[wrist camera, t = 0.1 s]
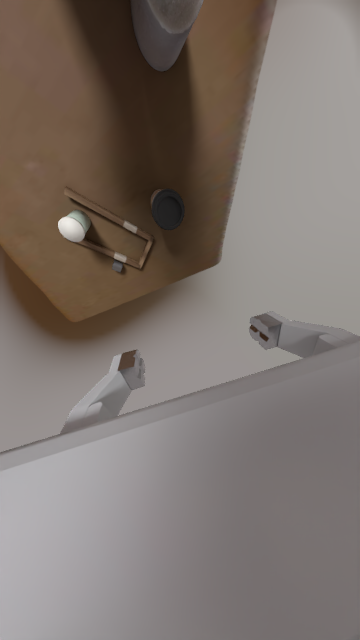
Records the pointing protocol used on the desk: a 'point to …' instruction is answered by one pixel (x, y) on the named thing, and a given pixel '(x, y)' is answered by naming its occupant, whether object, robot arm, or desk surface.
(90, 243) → the beam slot
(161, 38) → the pillar candle
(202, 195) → the desk surface
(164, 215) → the coffee cup
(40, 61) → the desk surface
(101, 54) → the desk surface
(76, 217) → the mint green tumbler
